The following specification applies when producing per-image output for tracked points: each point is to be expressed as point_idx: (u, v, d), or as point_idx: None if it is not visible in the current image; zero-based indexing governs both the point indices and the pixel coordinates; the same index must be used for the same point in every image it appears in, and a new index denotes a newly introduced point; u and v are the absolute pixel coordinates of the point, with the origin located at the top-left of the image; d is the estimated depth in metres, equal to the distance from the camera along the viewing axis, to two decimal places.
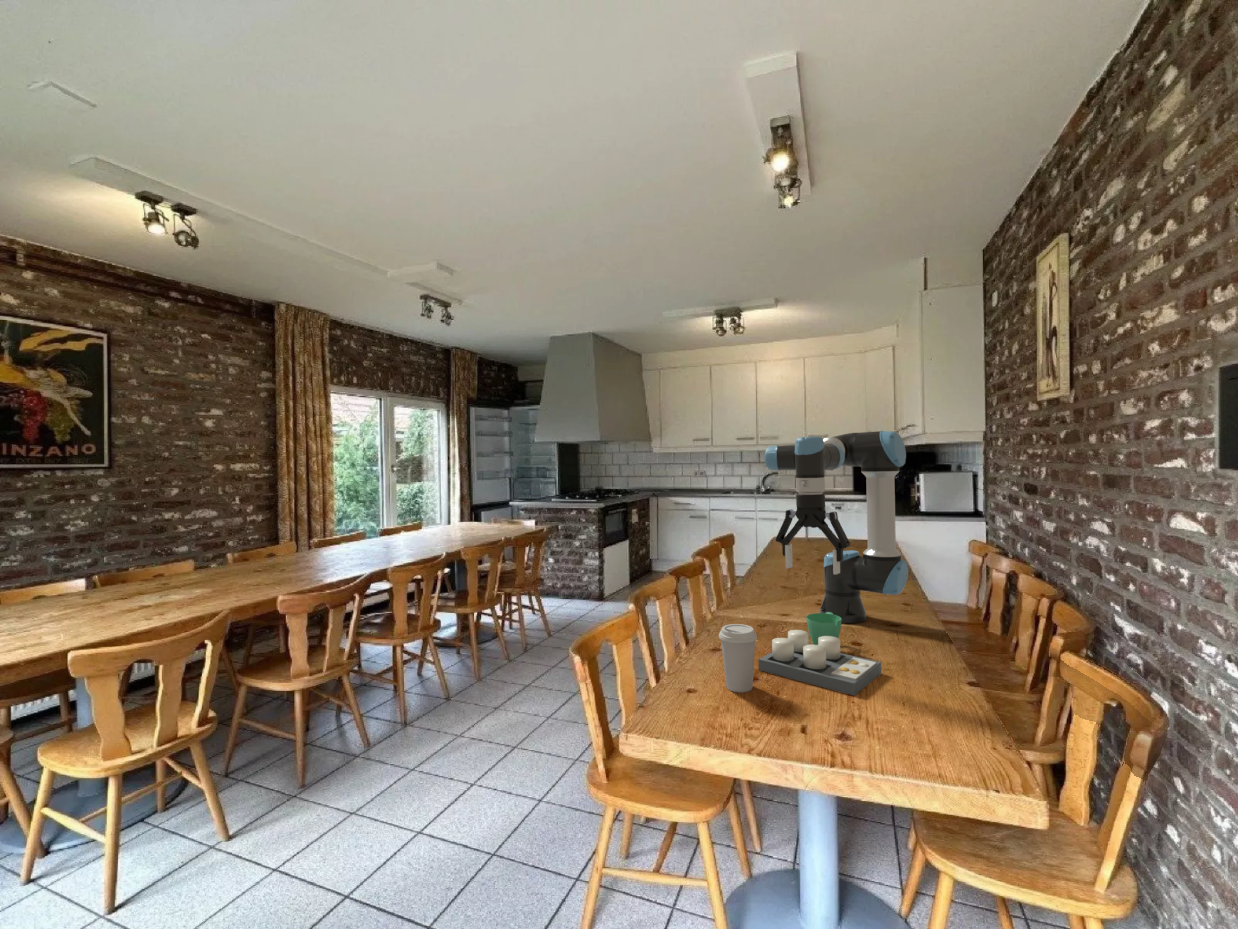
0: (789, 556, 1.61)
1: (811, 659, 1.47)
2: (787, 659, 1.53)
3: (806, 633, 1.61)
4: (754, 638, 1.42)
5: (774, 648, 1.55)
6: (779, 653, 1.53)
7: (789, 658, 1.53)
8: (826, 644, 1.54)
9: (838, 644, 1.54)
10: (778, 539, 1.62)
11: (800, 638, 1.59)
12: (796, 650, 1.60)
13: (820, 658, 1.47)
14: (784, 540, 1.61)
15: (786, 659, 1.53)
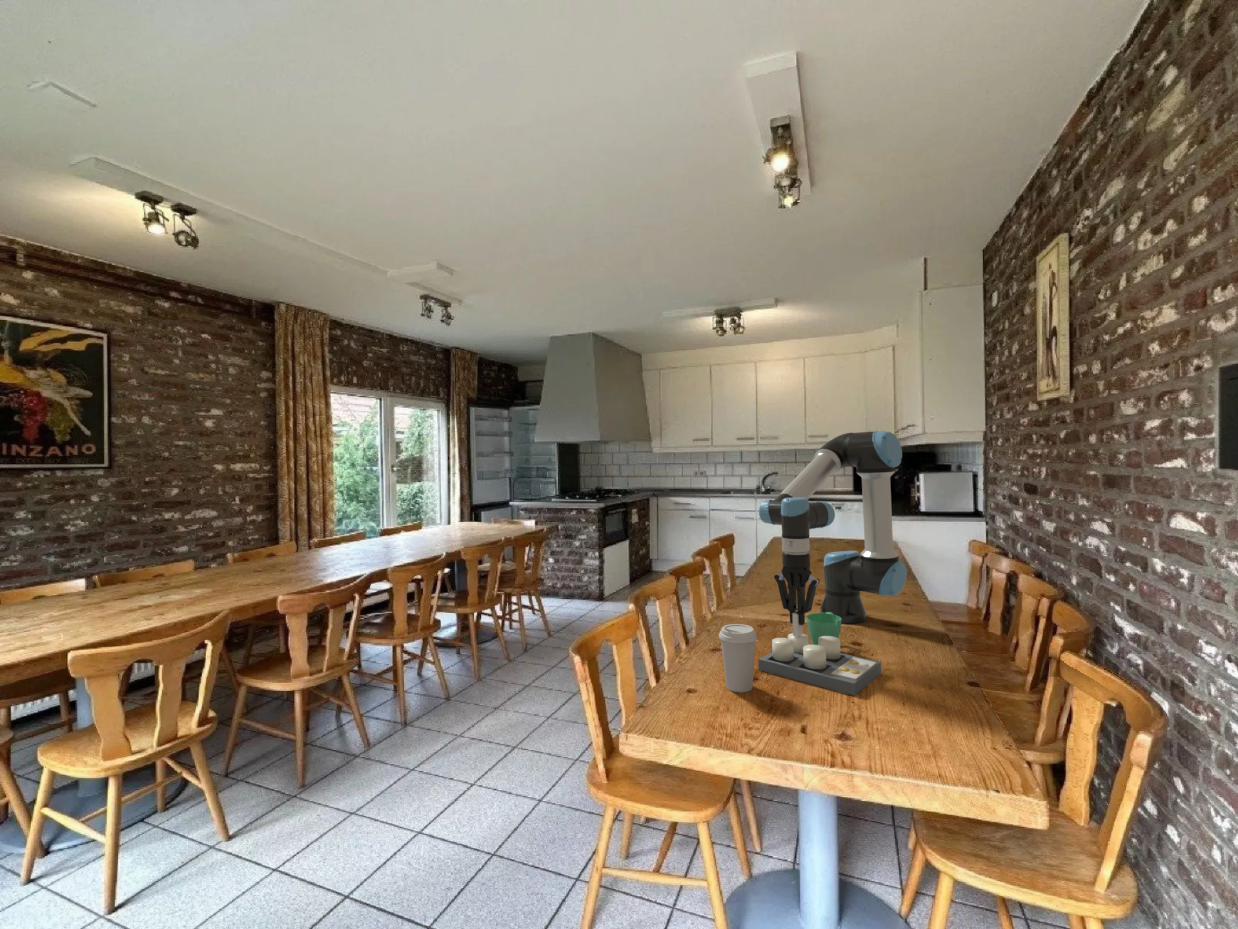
0: None
1: (811, 659, 1.47)
2: (787, 659, 1.53)
3: (806, 636, 1.61)
4: (754, 638, 1.42)
5: (774, 648, 1.55)
6: (779, 653, 1.53)
7: (789, 658, 1.53)
8: (826, 644, 1.54)
9: (838, 644, 1.54)
10: (785, 606, 1.63)
11: (800, 641, 1.59)
12: (796, 653, 1.60)
13: (820, 658, 1.47)
14: (790, 607, 1.62)
15: (786, 659, 1.53)
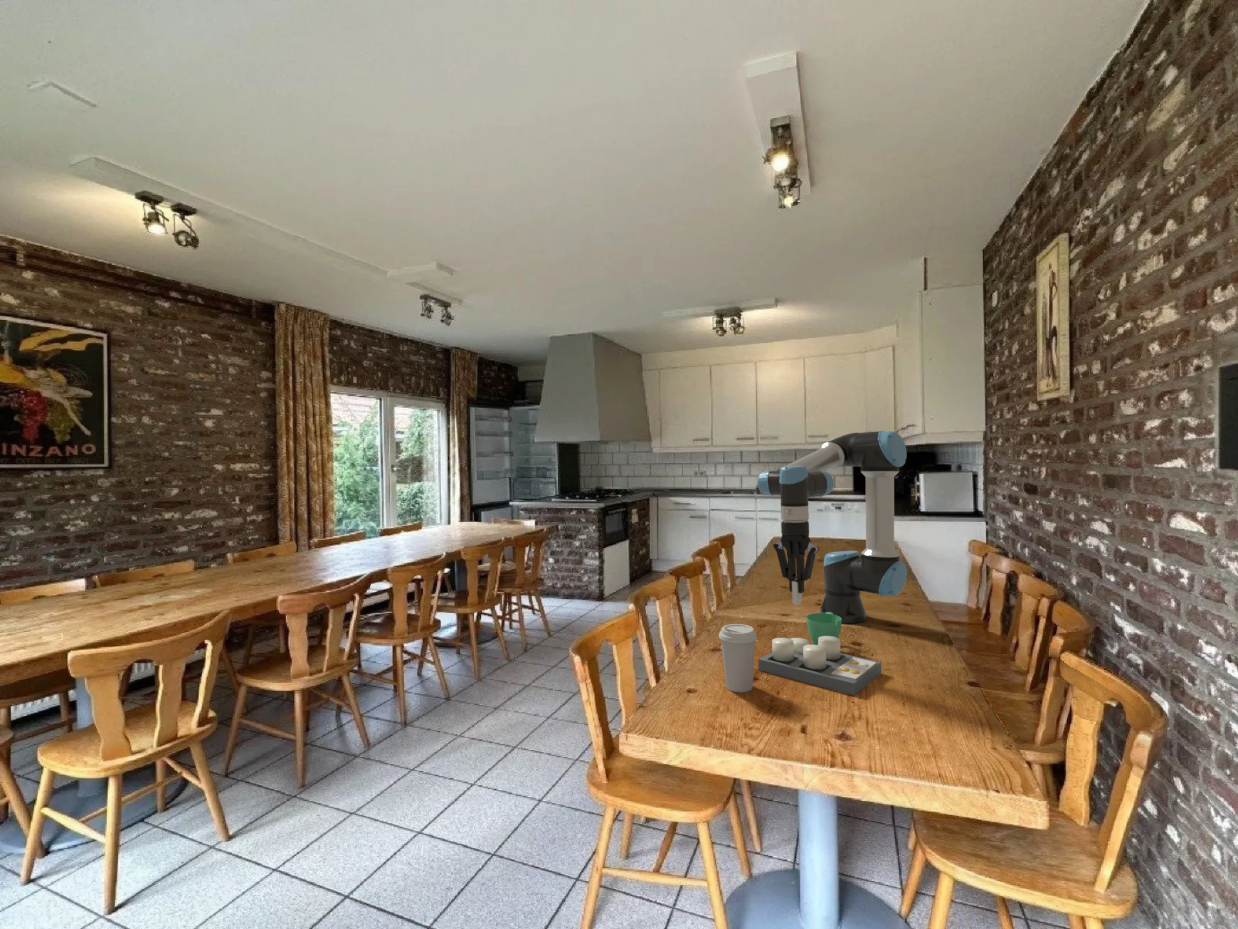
0: None
1: (811, 659, 1.47)
2: (787, 659, 1.53)
3: (806, 641, 1.61)
4: (754, 638, 1.42)
5: (774, 648, 1.55)
6: (779, 653, 1.53)
7: (789, 658, 1.53)
8: (826, 644, 1.54)
9: (838, 644, 1.54)
10: (784, 574, 1.63)
11: (801, 646, 1.59)
12: None
13: (820, 658, 1.47)
14: (789, 576, 1.62)
15: (786, 659, 1.53)
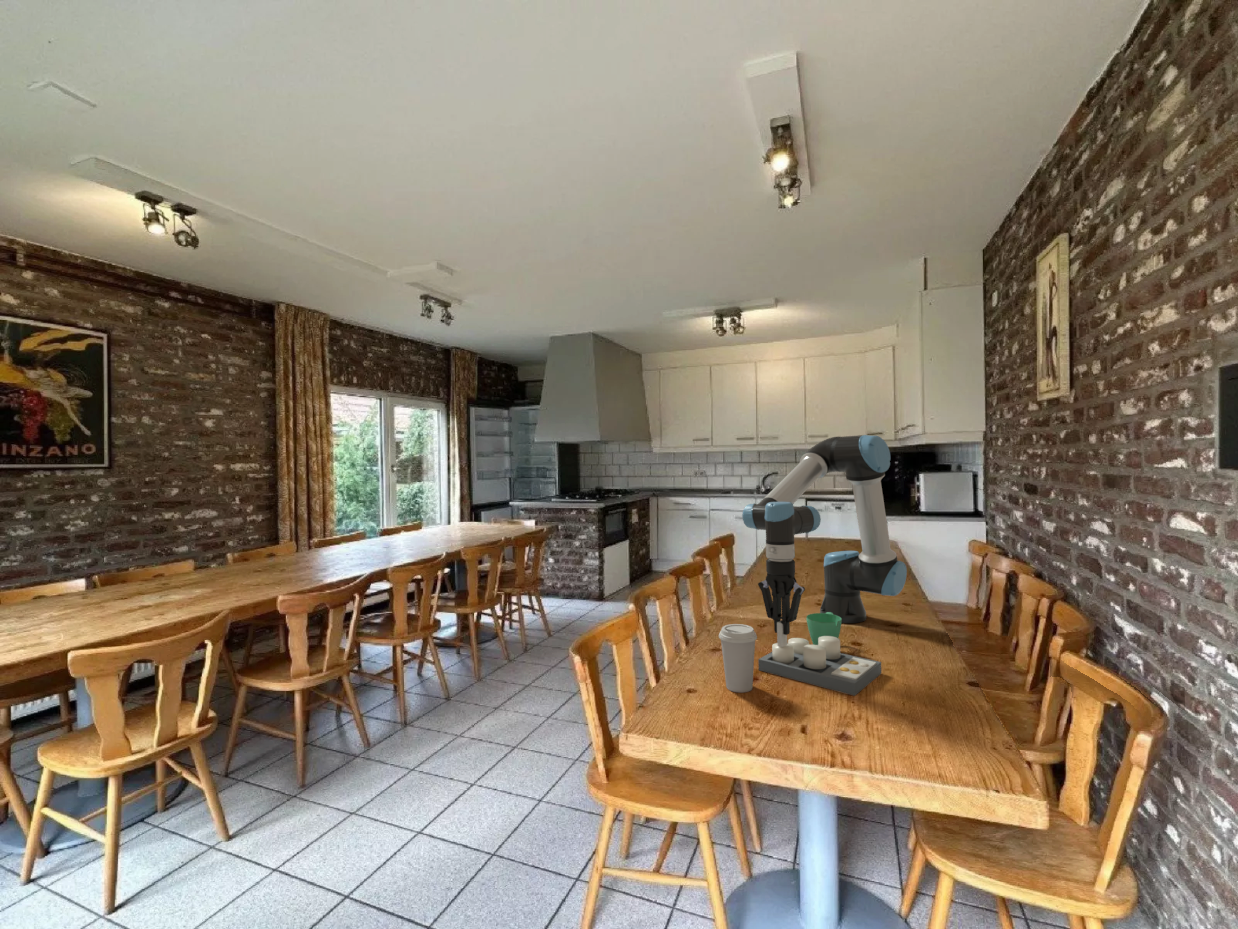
0: None
1: (811, 659, 1.47)
2: (787, 664, 1.53)
3: (806, 641, 1.61)
4: (754, 638, 1.42)
5: (774, 653, 1.55)
6: (779, 658, 1.53)
7: (789, 663, 1.53)
8: (826, 644, 1.54)
9: (838, 644, 1.54)
10: (769, 614, 1.57)
11: (801, 646, 1.59)
12: None
13: (820, 658, 1.47)
14: (774, 616, 1.56)
15: None
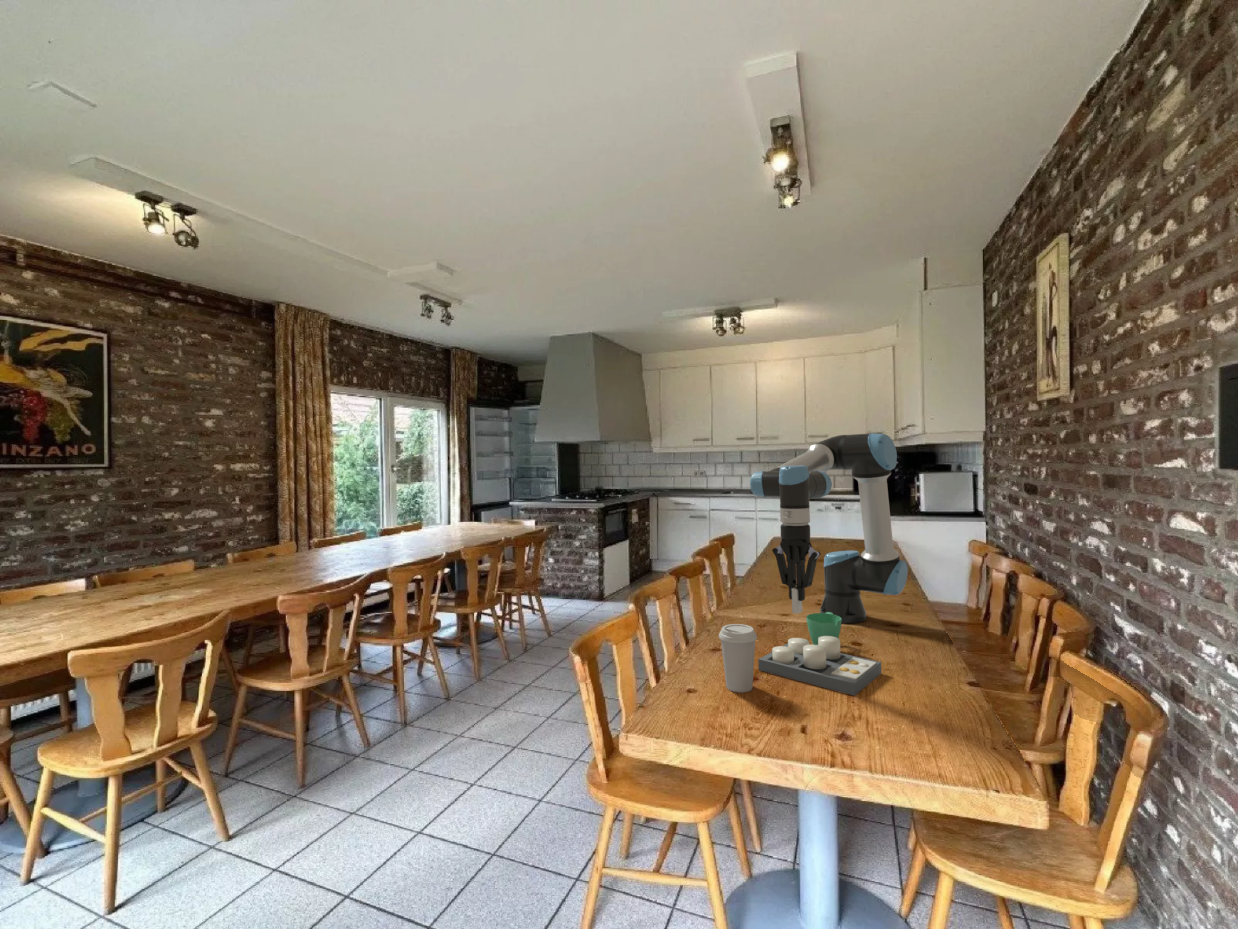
0: None
1: (811, 659, 1.47)
2: None
3: (806, 641, 1.61)
4: (754, 638, 1.42)
5: (774, 657, 1.55)
6: (779, 662, 1.53)
7: None
8: (826, 644, 1.54)
9: (838, 644, 1.54)
10: (784, 581, 1.53)
11: (801, 646, 1.59)
12: None
13: (820, 658, 1.47)
14: (789, 582, 1.52)
15: None
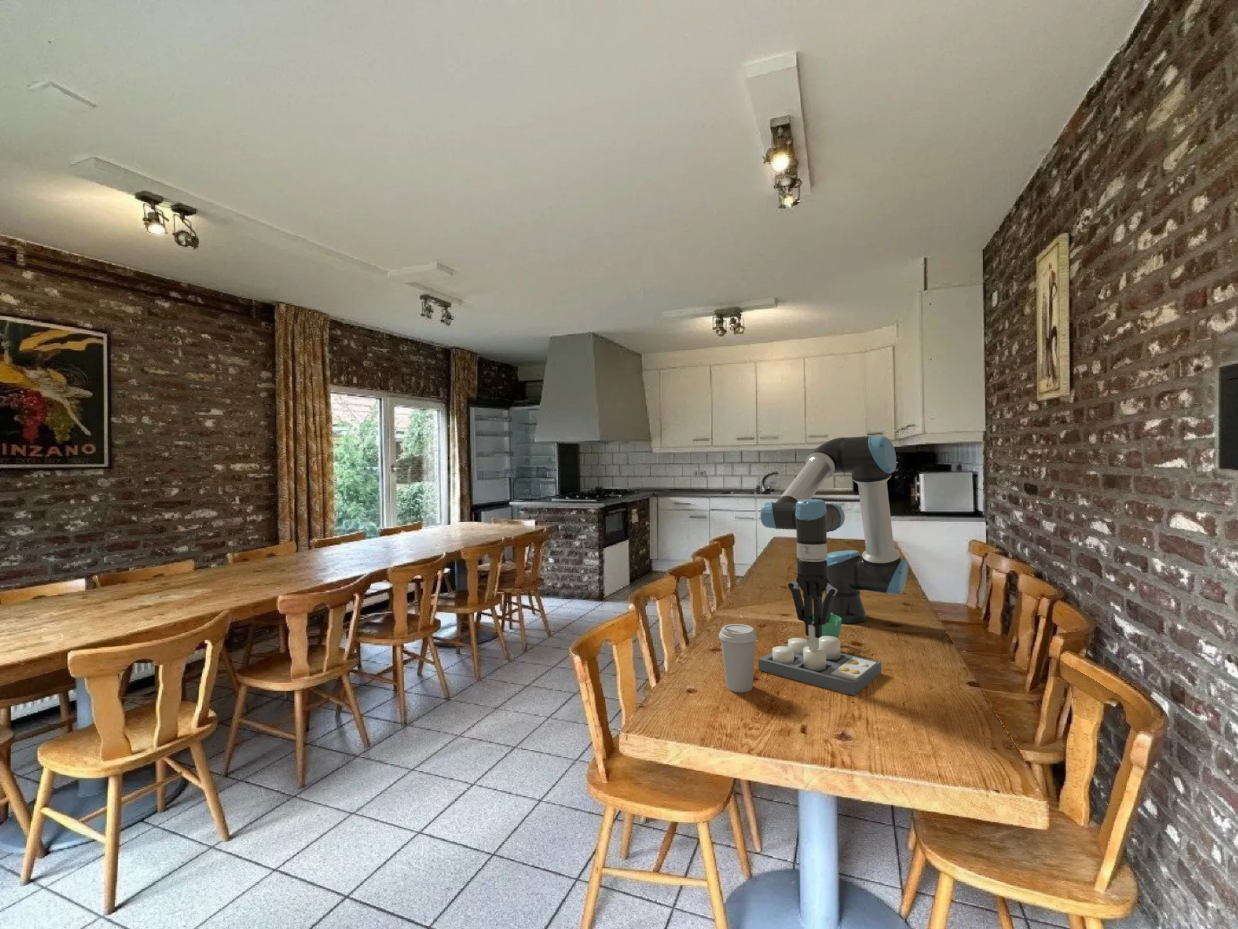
0: None
1: (811, 661, 1.47)
2: None
3: (806, 641, 1.61)
4: (754, 638, 1.42)
5: (774, 657, 1.55)
6: (779, 662, 1.53)
7: None
8: (826, 644, 1.54)
9: (838, 644, 1.54)
10: (800, 617, 1.50)
11: (801, 646, 1.59)
12: None
13: (820, 660, 1.47)
14: (806, 619, 1.49)
15: None
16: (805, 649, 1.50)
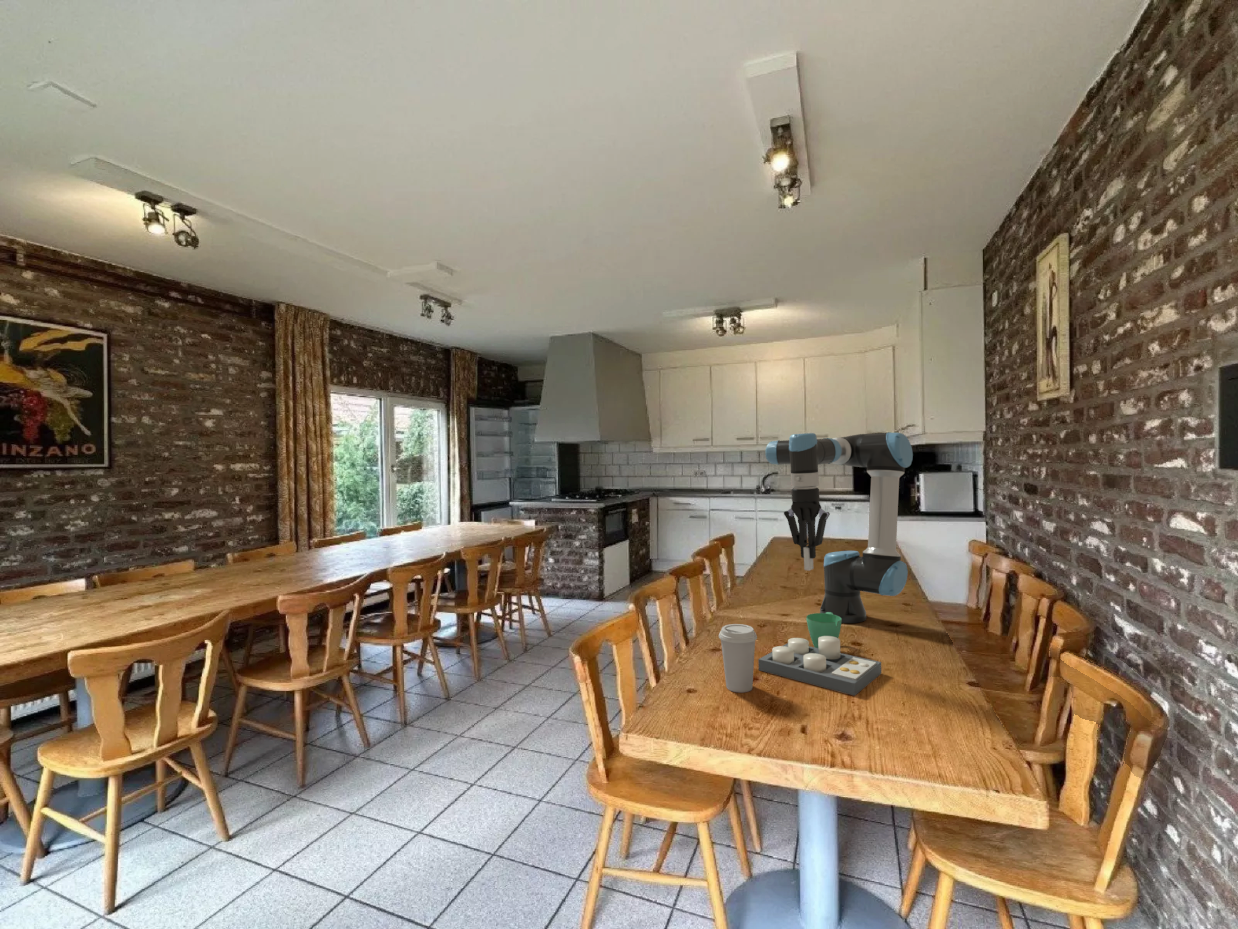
0: None
1: (812, 668, 1.47)
2: None
3: (806, 641, 1.61)
4: (754, 638, 1.42)
5: (774, 657, 1.55)
6: (779, 662, 1.53)
7: None
8: (826, 644, 1.54)
9: (838, 644, 1.54)
10: (796, 541, 1.65)
11: (801, 646, 1.59)
12: None
13: (820, 667, 1.47)
14: (801, 542, 1.64)
15: None
16: (805, 656, 1.50)
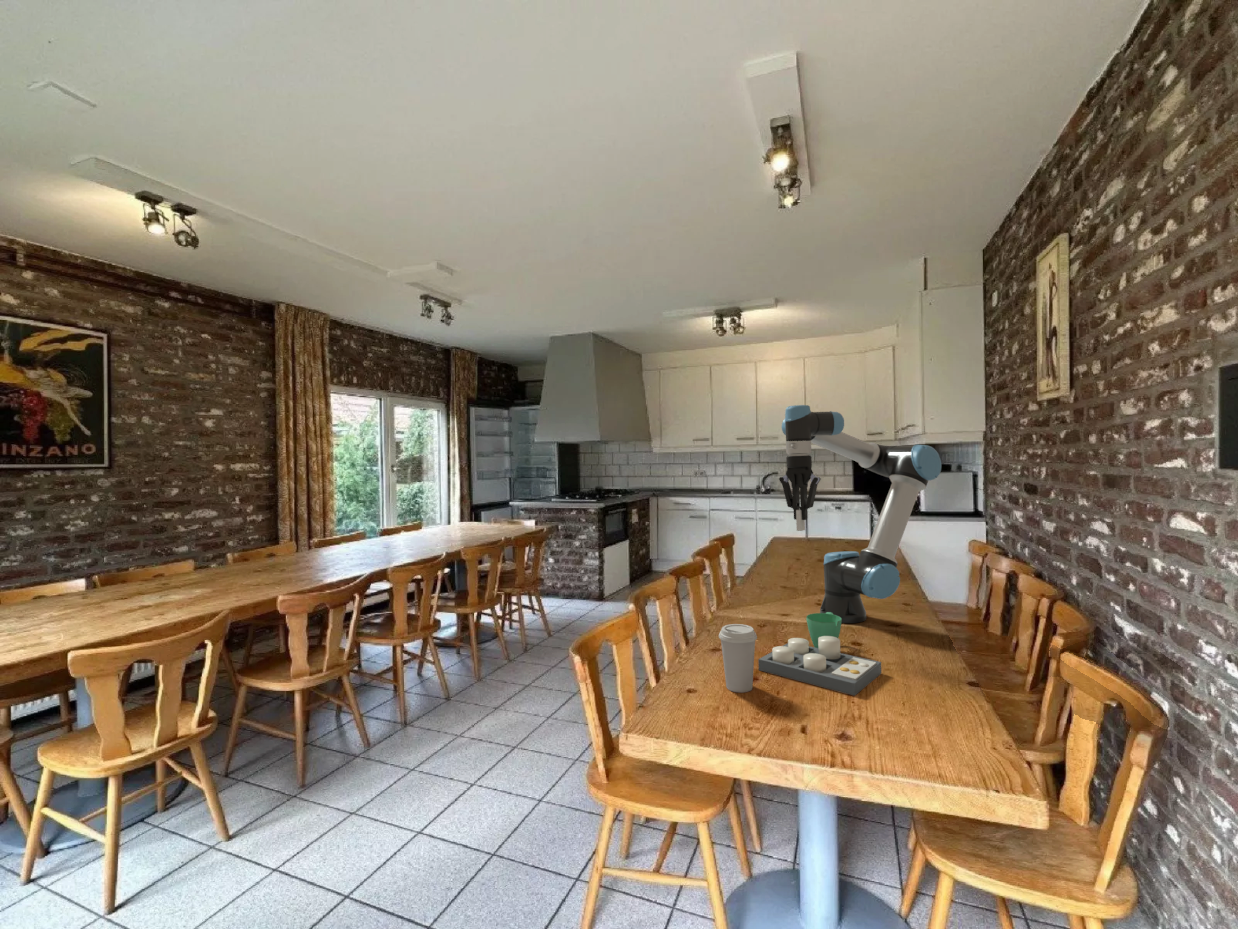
0: None
1: (812, 668, 1.47)
2: None
3: (806, 641, 1.61)
4: (754, 638, 1.42)
5: (774, 657, 1.55)
6: (779, 662, 1.53)
7: None
8: (826, 644, 1.54)
9: (838, 644, 1.54)
10: (789, 504, 1.80)
11: (801, 646, 1.59)
12: None
13: (820, 667, 1.47)
14: (794, 505, 1.79)
15: None
16: (805, 656, 1.50)
